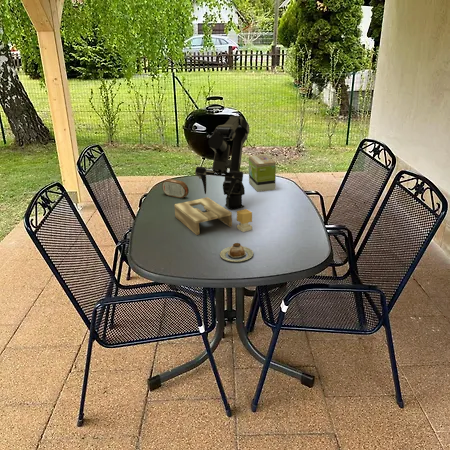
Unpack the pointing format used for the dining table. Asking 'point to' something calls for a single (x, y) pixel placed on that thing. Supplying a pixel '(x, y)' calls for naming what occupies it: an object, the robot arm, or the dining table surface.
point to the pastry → (236, 252)
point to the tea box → (262, 173)
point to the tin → (175, 188)
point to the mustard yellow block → (244, 220)
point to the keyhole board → (201, 213)
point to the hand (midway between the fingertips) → (216, 195)
